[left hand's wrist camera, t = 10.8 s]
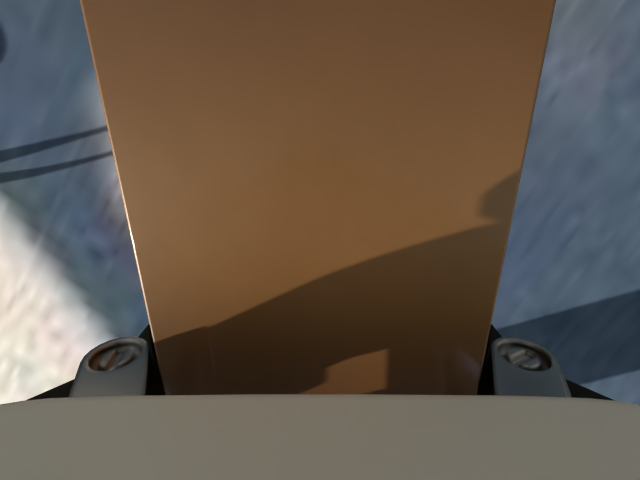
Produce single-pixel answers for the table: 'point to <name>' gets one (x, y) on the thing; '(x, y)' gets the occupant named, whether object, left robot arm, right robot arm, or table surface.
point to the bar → (319, 183)
